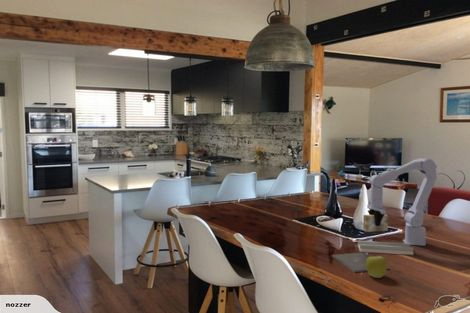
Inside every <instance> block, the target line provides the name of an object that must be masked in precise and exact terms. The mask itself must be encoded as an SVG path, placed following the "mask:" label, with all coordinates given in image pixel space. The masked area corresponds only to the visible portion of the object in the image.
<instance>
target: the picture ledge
mask: <svg viewBox="0 0 470 313" xmlns="http://www.w3.org/2000/svg"><path fill="white" fill-rule="evenodd" d="M357 247H358V250H359V253H362V252H364V253H374V254H389V255H391V254H393V255H405V256H406V255H407V256H408V255H409V256H414V247H413V246H411V245H410V243H404V242H390V241H373V240H371V241H370V240H358V242H357Z"/></svg>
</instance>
